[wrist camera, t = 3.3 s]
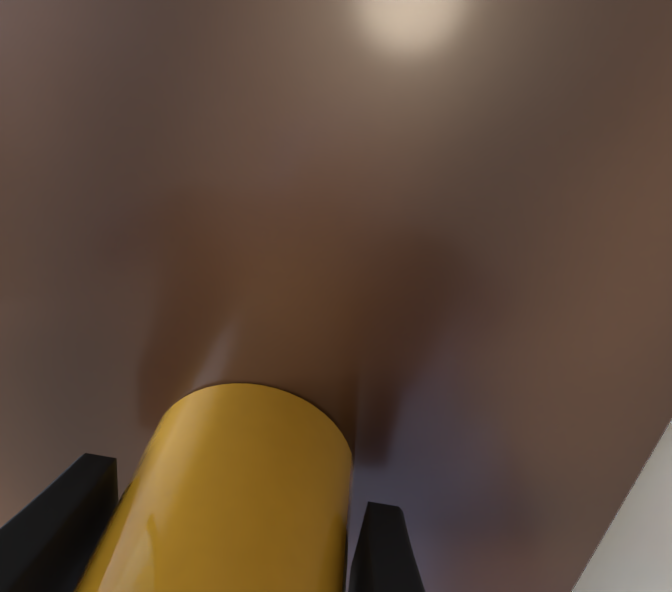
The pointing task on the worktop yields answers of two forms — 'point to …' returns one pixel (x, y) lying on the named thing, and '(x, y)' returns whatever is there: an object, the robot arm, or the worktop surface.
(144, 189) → the walnut board
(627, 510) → the worktop surface
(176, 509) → the spice jar
